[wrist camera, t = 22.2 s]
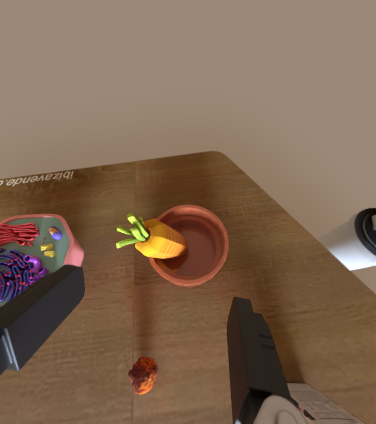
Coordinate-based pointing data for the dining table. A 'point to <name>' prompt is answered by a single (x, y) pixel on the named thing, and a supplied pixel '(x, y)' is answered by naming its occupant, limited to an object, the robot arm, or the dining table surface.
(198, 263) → the mixing bowl
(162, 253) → the carrot
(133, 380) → the meatball
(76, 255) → the cell model
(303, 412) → the candy bar box
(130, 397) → the dining table surface
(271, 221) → the dining table surface
